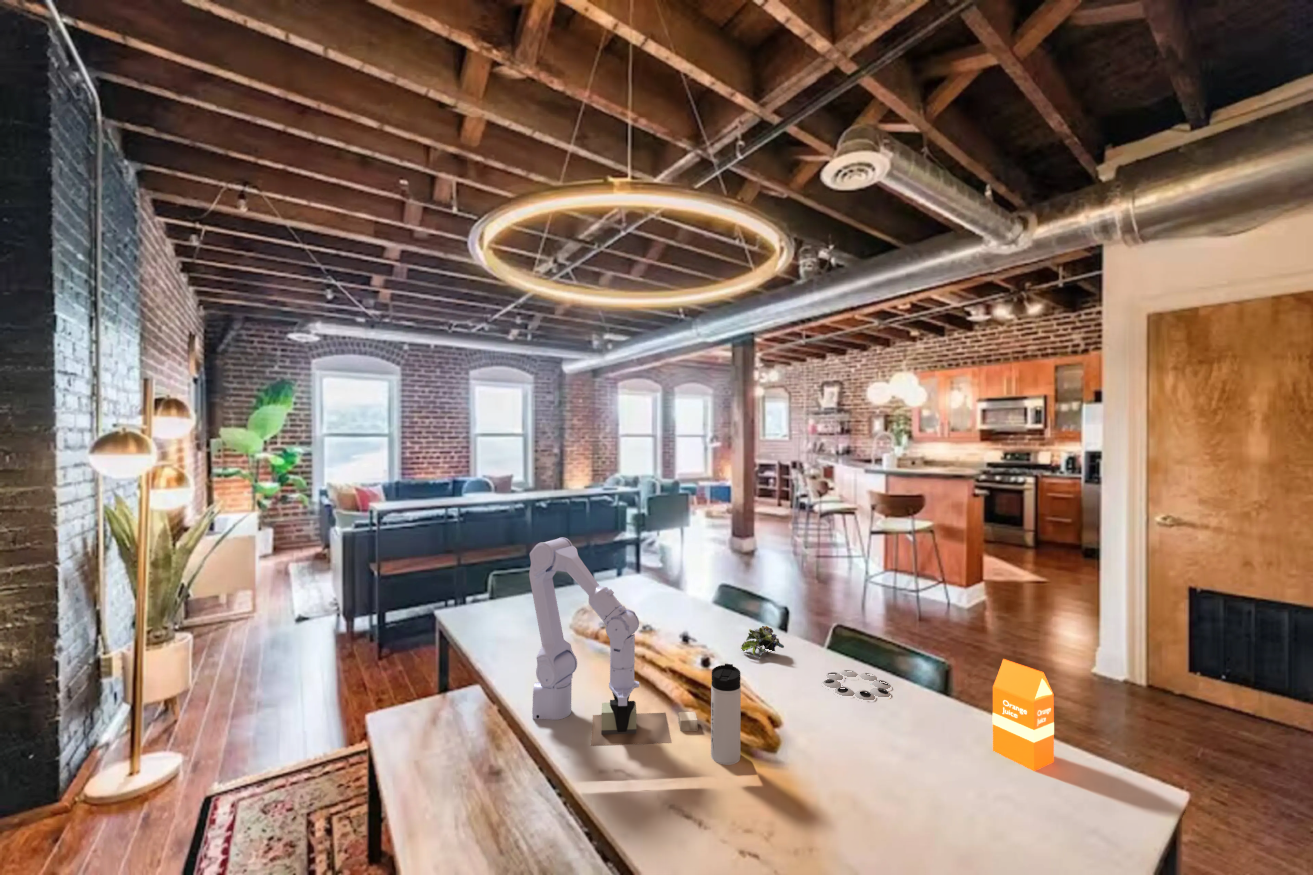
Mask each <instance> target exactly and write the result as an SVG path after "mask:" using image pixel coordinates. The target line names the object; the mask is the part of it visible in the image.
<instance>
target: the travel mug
mask: <svg viewBox="0 0 1313 875" xmlns="http://www.w3.org/2000/svg"><path fill="white" fill-rule="evenodd" d="M710 687H711V688H710V692H711V693H710V694H711V696H710V698H711V700H710V715H711V716H710V756H711V760H713V762H716V763H717V764H719V765H725V766H731V765H735V764H737V763H738V762H740V760H741V724H742V722H741V718H742V717H741V708H742V707H741V706H742V705H741V703H742V702H741V696H742V694H741V691H742V689H741V688H742V686H741V670H740V669H739V668H737V667H735V666H734V664H733V663H732V664H731V663H724V664H722V665H718V666H715V667H714V668H712V670H711V683H710Z"/></svg>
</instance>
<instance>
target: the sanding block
mask: <svg viewBox="0 0 1313 875" xmlns="http://www.w3.org/2000/svg"><path fill="white" fill-rule="evenodd" d="M636 714H637V702H636V701H635V706H634V708H633V710H632V712H631V714H630V718H629V723H628V728H627V731H626V732H618V731H617V728H616V722H615V716H614V713H613V711H612V709H611V707H610V701H609V702H601V715H602V728H601V735H608V734H636Z"/></svg>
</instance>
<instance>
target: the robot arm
mask: <svg viewBox="0 0 1313 875" xmlns="http://www.w3.org/2000/svg"><path fill="white" fill-rule="evenodd" d="M529 559H530V567H529V571H528V572H529V573H528V574H529V575H528V576H529V581H530V582H529V583H530V588H531V592H532V598H533V604H534V609H535V615H536V620H537V626H538V631H539V636H540V641H541V647H540V649H539V651H538V653H537V655H536V668H535V669H536V670H535V673H536V674H535V676H536V679H537V680H538V682H534V684H533V689H532V711H531V714H532V720H553V721H554V720H555V721H557V720H562V719H565V718H567V717H569V716H570V715H571V714H572V683H573V682H572V681H573V680H572V679H573V674H574V673H575V672H576V670H577V668H578V659H577V656H576V655H575V653H574V651H573V649H572V645H571V643H570V642H568V641H567V640H565V639H564V632H563V627H562V623H561V622H562V621H561V616H560V611H559V607H558V606H559V605H558V601H557V597H556V589H555V585H554V579H553V577H554V576H555V574H557V572H565V573H567V574H568V575H569V576H570V577H571V578H572V579H573V580H574V581H575V583H576V584H577V585H579V587H580V588H581V589H582V590H583V591H584V592H585V593H586V594H587V596H588V604H589V606H590V607H591V608H592V610H594V612H595V613H596V614H597V616H599V618H600V619H601V620H602V622H603V623H604V624H605V632H606V635H607V637H608V639H609V646H610V647H609V648H610V649H609V650H610V651H609V655H610V656H609V658H610V659H609V683H608V687H609V689H610V691H611V692H612V695H613V699H610V700H609V702H610V707H611V709H612V711H613V713H614V716H615V722H616V728H617V731H618V732H626V731H627V728H628V723H629V718H630V714H631V712H632V710H633V708H634V706H635V702H636V701H635V700H629V699H630V695H631V693H632V692H633V691H634V689H638V688H640V682H639V681H637V680H635V664H636V663H635V661H636V660H635V659H636V658H635V653H636V652H635V649H636V645H635V644H636V643H635V641H636V639H635V638H636V635H635V633H636V632H637V631H638V629H639V627H640V621H639V617H638V616H637V614H636V612H635V611H634V610H632V609H630V608H629V609H627V608H626V607H625V606H624V605H623V604H621V602H620V600H619V599H618V598H617V597H616V596H615V595H614V594H615V592H614V591H613V589H612V588H608V586H602V585H600V584H599V582H598V581H597V580H596V579H595V577H594V576H593V574H592V573H591V572H590V570H589V568H588V567H587V565H585V563H584V562H583V560H582V559H581V557H580V556H579V554H578V549H577V548H576V546H575V545H573V543H572V542H571V540H570V539H568V538H566V537H559V538H556V539H551V540H548V541H545V542H541V541H540V542H539V543H537V544H536V545H534V547H533V548H532V549H531V551H530V552H529Z"/></svg>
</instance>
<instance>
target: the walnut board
mask: <svg viewBox="0 0 1313 875" xmlns="http://www.w3.org/2000/svg"><path fill="white" fill-rule="evenodd" d="M601 728H602V714H592V722H591V733H590V734H591V737H590V746H591V747H592V746H593V747H596V746H598V747H599V746H601V747H602V746H623V745H625V746H626V745H629V746H630V745H654V744H672V738H671V733H670V727H669V722H668V718H667V713H666V712H649V713H647V712H644V713H641V712H640V713H636V734H608V735H601Z"/></svg>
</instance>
